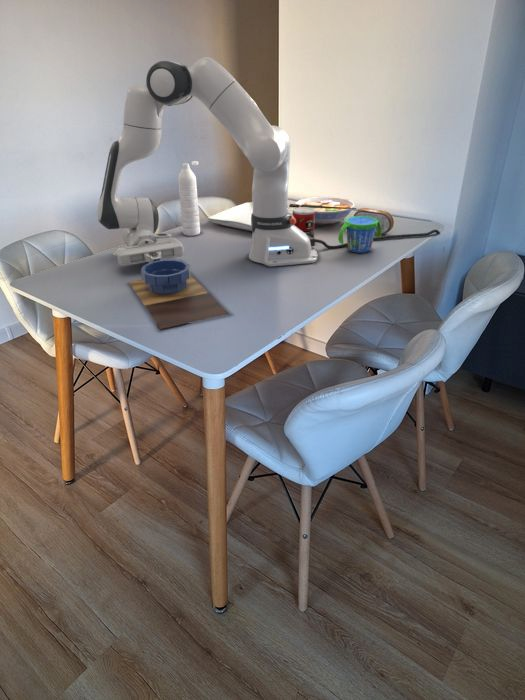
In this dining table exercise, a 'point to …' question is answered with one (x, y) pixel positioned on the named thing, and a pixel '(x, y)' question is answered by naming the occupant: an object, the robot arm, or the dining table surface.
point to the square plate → (236, 216)
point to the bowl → (166, 276)
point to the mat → (185, 310)
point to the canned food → (305, 219)
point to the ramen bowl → (327, 208)
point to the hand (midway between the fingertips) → (156, 260)
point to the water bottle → (189, 200)
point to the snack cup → (360, 233)
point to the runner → (152, 298)
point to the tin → (378, 218)
